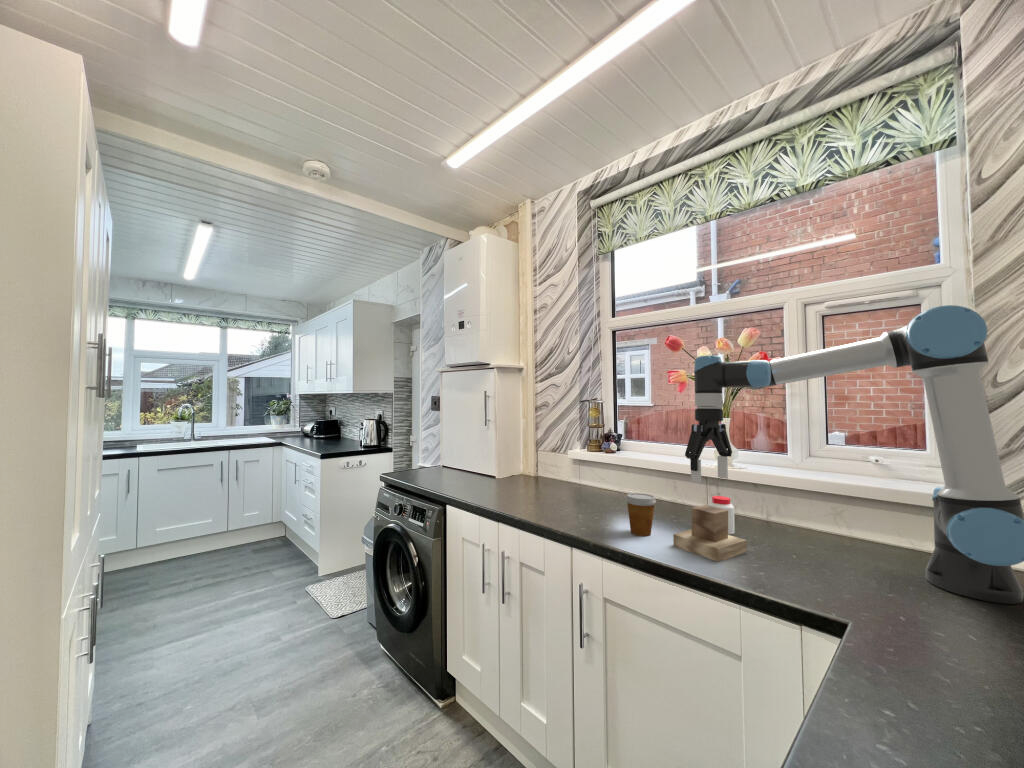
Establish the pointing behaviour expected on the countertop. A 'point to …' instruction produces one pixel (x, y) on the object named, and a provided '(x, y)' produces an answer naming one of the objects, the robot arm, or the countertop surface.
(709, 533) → the walnut block
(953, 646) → the countertop surface
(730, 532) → the pill bottle
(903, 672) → the countertop surface
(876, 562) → the countertop surface
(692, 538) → the oak block
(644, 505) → the disposable coffee cup
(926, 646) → the countertop surface
